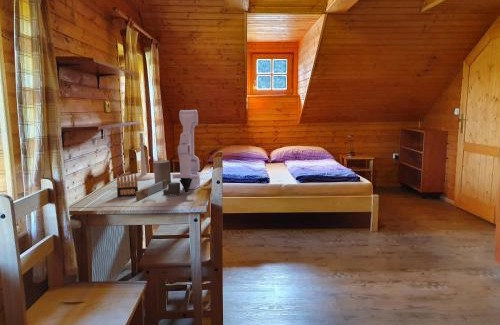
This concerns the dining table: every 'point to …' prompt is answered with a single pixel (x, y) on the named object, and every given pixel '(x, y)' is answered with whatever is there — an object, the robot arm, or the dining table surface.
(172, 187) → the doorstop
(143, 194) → the brown wooden bar
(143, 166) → the candlestick
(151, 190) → the door
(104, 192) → the dining table surface
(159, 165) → the pillar candle
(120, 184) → the ammunition clip
